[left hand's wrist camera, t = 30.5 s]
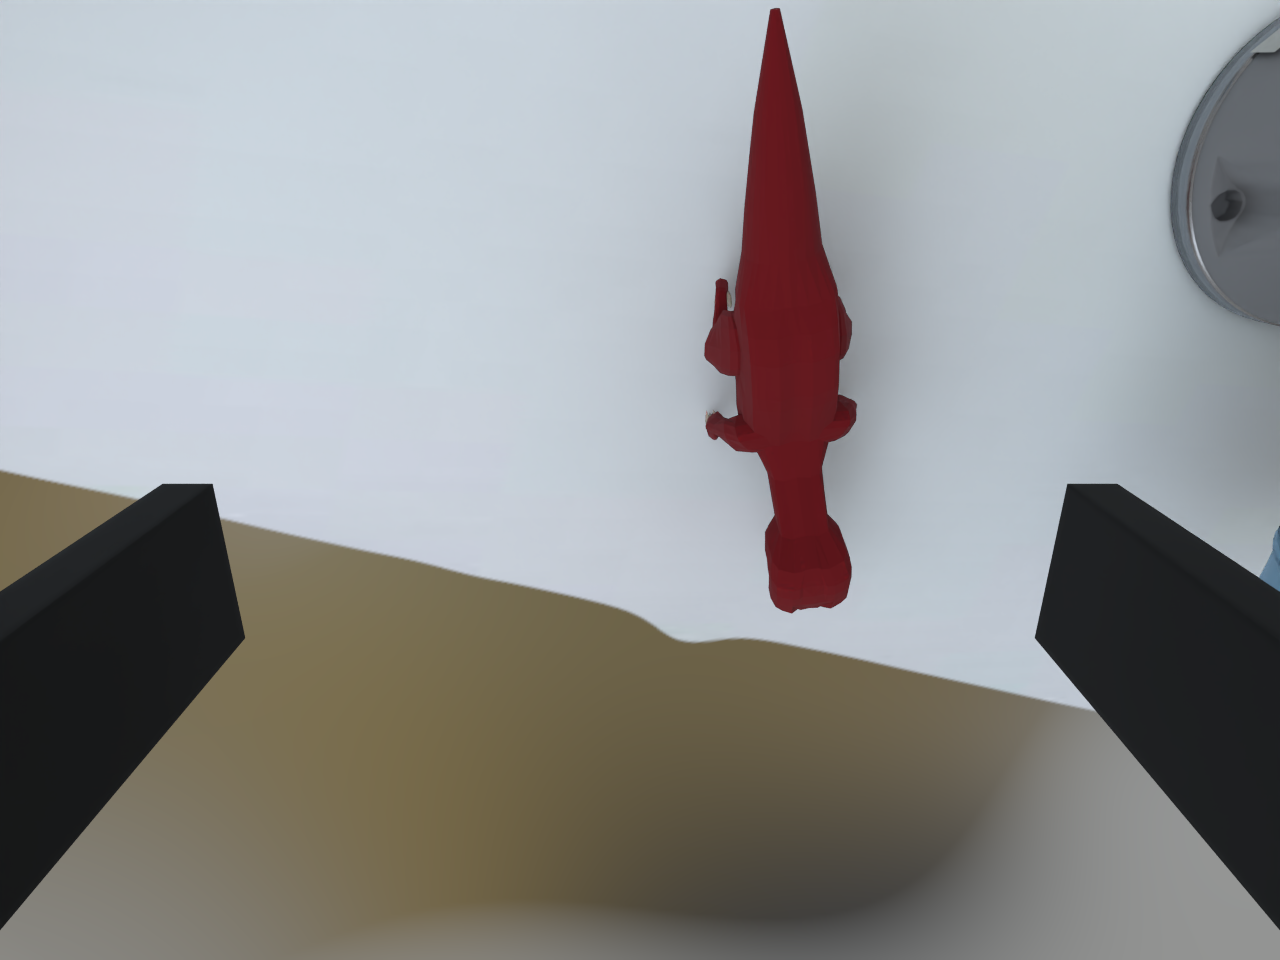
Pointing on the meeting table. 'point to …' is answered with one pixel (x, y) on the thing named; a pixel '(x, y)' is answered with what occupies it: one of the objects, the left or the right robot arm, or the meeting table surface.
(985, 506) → the meeting table surface
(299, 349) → the meeting table surface
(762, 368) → the toy
